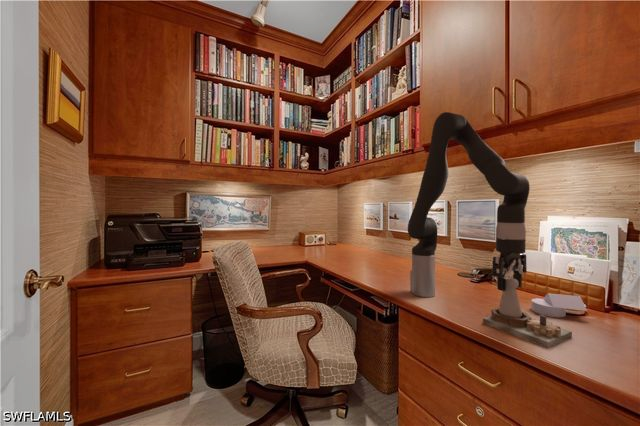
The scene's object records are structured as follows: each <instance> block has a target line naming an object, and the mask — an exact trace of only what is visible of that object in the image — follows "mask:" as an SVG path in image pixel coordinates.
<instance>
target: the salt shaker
mask: <svg viewBox="0 0 640 426" xmlns="http://www.w3.org/2000/svg"><path fill="white" fill-rule="evenodd" d="M506 279H507V281H506V291H502V293H501V297H500V298H501V299H500V303H499V307H498V308H499V313H500V315H503V316H506V317H509V318H518V319H520V317H521V316H522V312H523V311H522V308H521V304H520V300H519V296H518V292H517V288H519V287H518V286H519V283H518V281H517V280H516V279H514V278H513V277H506Z"/></svg>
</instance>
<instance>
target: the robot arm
mask: <svg viewBox="0 0 640 426" xmlns="http://www.w3.org/2000/svg"><path fill="white" fill-rule="evenodd" d="M450 140H453V141H454V142H455V141H456V142H457V143H458V144H459V145H460V146H462V147H463V149H465V152H466V153H467V156H468V159H469V160H470V162H471V163H472V164H473V165H474V166H475V168H476V169H477V170H478V171H479V172H480V173H481V174H483V176H484V177H485V180H486V181H487V184H488V185H489V186H490V188H491V190H493V191H494V192H495V193H497V194H498V195H500V196H503V200H502V201H503V202H502V204H499V205H498V206H497V210H496V228H495V251H496V252H499V256H493V257H492V273H491V274H492V276H493V277H495V278H497V281H496V282H497V290H498V291H501V292H503V291H506V281H507V279H506V278H508V275H509V274H510V273H511V272H512V278H514V279H516V280H517V281H518V283H519V286H518V287H517V288H521V287H522V285H523V276H524V274H525V273H527V269H528V268H527V254H525V253H526V241H527V239H526V237H527V236H526V225H525V223H526V217H525V215H526V211H525V208H526V205H527V202H528V198H529V195H530V187H531V186H530V181H529V179H528V178H527V177H526V176H525V175H523V174H521V173H513V172H511V170H509V169H508V168H507V167H506V162H505V160H504V159H503V158H502V157H501V156H500V155H499V154H498V153H497V152H496V151H495V150H493V149H492V148H491V147H490V146H489V145H488V144H487V143H486V142H485V141H484V140H483V139H482V138H481V137H480V135H479V134H478V133H477V132H476V130H475V129H474V128H473V126H472V125H471V123H470V122H469V121H468V119H467V118H466V117H465V116H464V115H461V114H459V113H458V114H457V113H453V112H450V111H449V112H448V111H447V112H446V111H445V112H442V113H440V114H439V115H438V116H437V117H436V119H435V121H434V123H433V127H432V131H431V138H430V146H429V151H428V155H427V159H426V163H425V168H424V171H423V175H422V178H421V183H420V187H419V191H418V194H417V197H416V201H415V204H414V207H413V210H412V212H411V213H410V214H411V215H410V217H409V219H408V223H407V232H408V233H407V234H408V236H409V237H410V238H411V239H413V240H418V243H417V244H415V245H414V246H413V247H412V248H411V270H410V274H409V275H410V277H409V279H410V281H409V282H410V289H409V290H410V293H412V294H413V295H414V296H417V297H420V298H421V297H422V298H432V297H436V257H435V256H436V249H437V246H438V225H437V221H436V220H435V219H433V218H432V217H428V214H429V212H430V210H431V209H432V206H433V205H434V204H435V203H436V202H437V200H438V199H440V197H441V196H442V194H443V193H444V191H445V188H446V186H447V182H448V178H449V166H448V160H447V150H448V149H447V148H448V144H449V142H450Z"/></svg>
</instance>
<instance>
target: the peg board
mask: <svg viewBox="0 0 640 426" xmlns="http://www.w3.org/2000/svg"><path fill="white" fill-rule="evenodd" d="M490 312H491V313H490V314H491V315H489V316H486V317H482V324H484V325H487V326H490V327H493V328H495V329H498V330H500V331H503V332H505V333H508V334H511V335H513V336H516V337H519V338H522V339H524V340H526V341H529V342H532V343H535V344H536V345H540V346H543V347H545V348H548V349H549V348H552V347H553V346H556V345H558V344H560V343H562V342H564V341H566V340H569V339H570V338H572V337H573V331H571V330H567V329H565V328H561V326H560V325H559V324H557V325H556V324H553V322H550V321H547V316H546V315H542V314H539V319H538V318H536V319H535V318H534V319H533V318H532V317H531V316H530V315H529V314H528V313H526V312H523V311H521V312H522V316H521V317H520V319H518V318H509V317H506V316H503V315H500V313H499V307H495V308H492V309H491V310H490Z"/></svg>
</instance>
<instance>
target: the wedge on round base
mask: <svg viewBox="0 0 640 426" xmlns="http://www.w3.org/2000/svg"><path fill="white" fill-rule="evenodd" d="M567 309H568V310H577V311H585V312H588V309H587V307H586V306H585V303H584V301H583V299H582V297H581V296H580V295H570V294H562V293H559V294H558V293H549V292H548V293H547V294H546V295H545V296H544V297H543V298H537V297H536V298H532V299H531V311H533V312H534V313H536V314H538V315H544V316H546V317H551V318H552V317H553V318H565V317H566V316H567V315H566V313H567Z"/></svg>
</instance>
